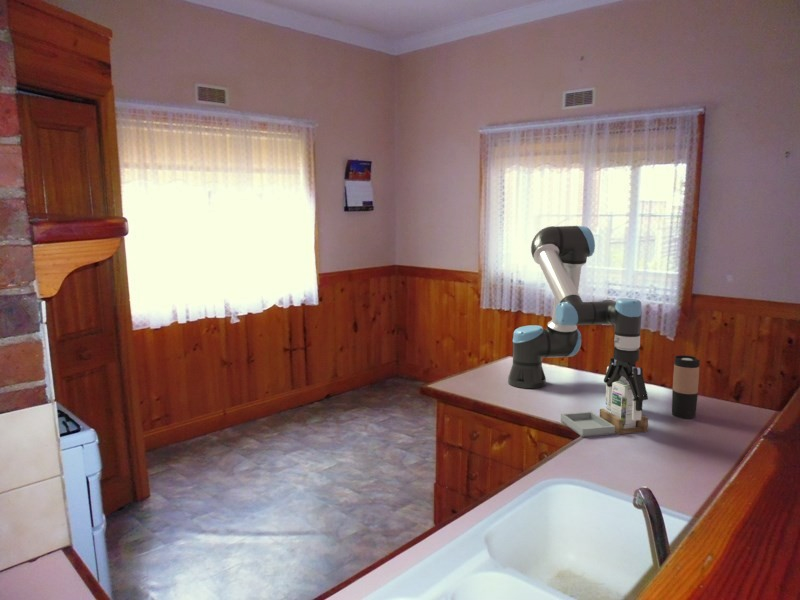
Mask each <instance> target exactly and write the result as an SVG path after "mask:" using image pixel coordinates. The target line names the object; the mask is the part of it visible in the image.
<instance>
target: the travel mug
mask: <svg viewBox="0 0 800 600" xmlns="http://www.w3.org/2000/svg"><path fill="white" fill-rule="evenodd" d="M700 360H701V359H700V358H696V356H692V355H683V354H682V355H675V356H674V365H673V378H672V379H673V380H672V391H671V393H672V396H671V397H672V400H671V415H672V416H674V417H675V418H679V419H683V420H691V419H695V418H696V414H697V405H698V395H699V382H700V381H699V379H700V366H701V365H700V363H701V361H700Z"/></svg>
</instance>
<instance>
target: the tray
mask: <svg viewBox="0 0 800 600" xmlns="http://www.w3.org/2000/svg"><path fill="white" fill-rule="evenodd" d="M560 422H561V423H562V424H564V425H565V426H566V427H568V429H570V430H572V431H573V432H575V434H578V435H579V436H580V437H582V438H587V437H588V438H589V437H596V436H597V435H600V436H608V435H607V434H611V435H615V434H616V432H615V426H614V425H612V424H610V423H609V422H607V421H606V420H604V419H603V418H601V417H600V415H597V414H596V413H594V412H593V411H582V412H569V413H560ZM597 437H598V436H597Z"/></svg>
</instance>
